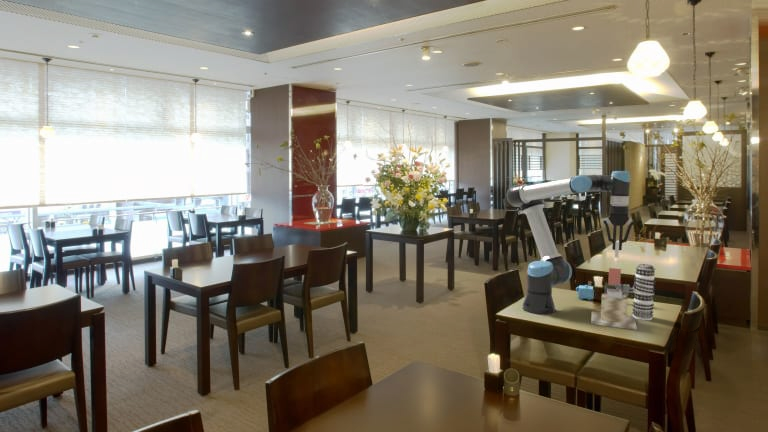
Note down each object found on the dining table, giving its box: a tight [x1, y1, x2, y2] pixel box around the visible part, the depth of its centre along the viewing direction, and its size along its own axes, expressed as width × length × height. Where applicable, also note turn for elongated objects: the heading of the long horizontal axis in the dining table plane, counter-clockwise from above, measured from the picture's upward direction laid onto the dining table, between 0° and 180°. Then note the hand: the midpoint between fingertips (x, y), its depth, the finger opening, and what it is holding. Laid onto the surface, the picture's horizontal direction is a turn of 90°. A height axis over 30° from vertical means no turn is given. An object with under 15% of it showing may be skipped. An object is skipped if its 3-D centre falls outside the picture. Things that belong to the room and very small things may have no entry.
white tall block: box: [607, 287, 622, 299], centre depth 225 cm, size 6×6×12 cm
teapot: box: [575, 284, 595, 301], centre depth 265 cm, size 12×6×8 cm, turn 67°
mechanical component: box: [614, 283, 635, 299], centre depth 256 cm, size 3×10×10 cm, turn 78°
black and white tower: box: [631, 263, 657, 321], centre depth 232 cm, size 9×9×25 cm
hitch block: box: [590, 282, 637, 330], centre depth 225 cm, size 18×16×16 cm
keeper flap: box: [607, 267, 622, 288], centre depth 231 cm, size 5×8×1 cm
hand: (616, 257), depth 226 cm, fingers closed
